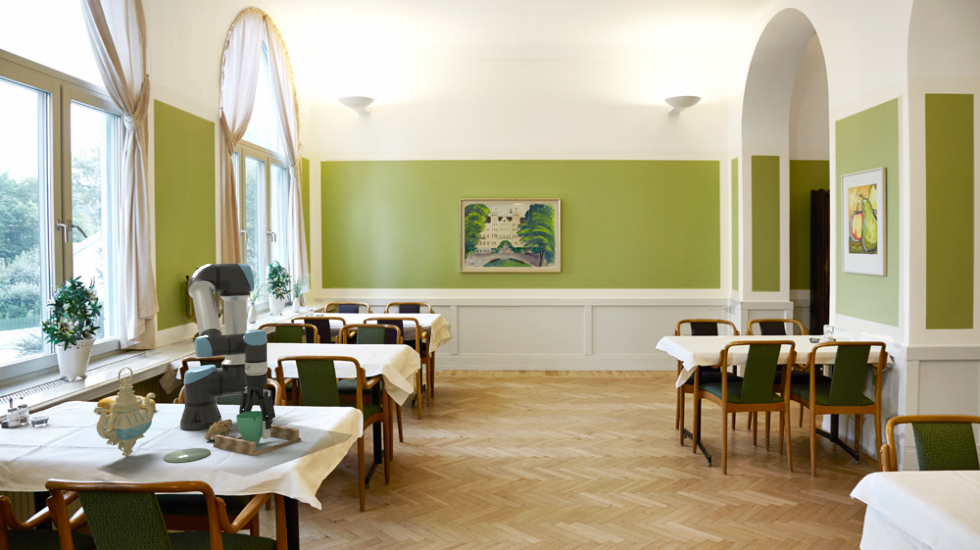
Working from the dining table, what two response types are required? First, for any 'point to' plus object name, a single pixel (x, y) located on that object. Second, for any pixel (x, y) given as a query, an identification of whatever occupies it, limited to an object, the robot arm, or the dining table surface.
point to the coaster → (187, 455)
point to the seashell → (219, 429)
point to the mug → (251, 425)
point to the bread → (106, 401)
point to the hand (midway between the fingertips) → (257, 435)
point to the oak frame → (250, 447)
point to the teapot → (125, 418)
